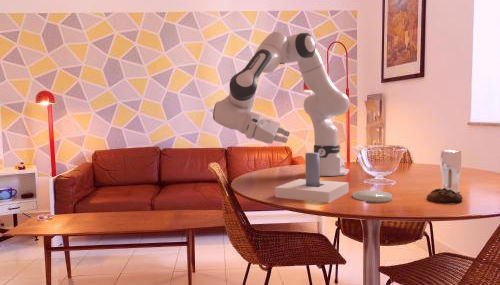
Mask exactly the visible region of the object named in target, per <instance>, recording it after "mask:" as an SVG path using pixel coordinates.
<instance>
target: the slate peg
mask: <svg viewBox="0 0 500 285" xmlns="http://www.w3.org/2000/svg"><path fill="white" fill-rule="evenodd" d="M320 177H321V176H320V156H319V153H314V152H306V153H305V179H306V186H309V187H320Z"/></svg>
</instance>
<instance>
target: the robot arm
mask: <svg viewBox="0 0 500 285" xmlns="http://www.w3.org/2000/svg"><path fill="white" fill-rule="evenodd" d="M316 45H317V44H316V41H315V38H314V37H313V35H311V34H310V33H309V32H300V33H298V34H293V35H289V36H286V35H285V34H284V33H282V32H280V31H273V32H271V33H269V34H268V35H267V36H266V37H265V38H264V39H263V40H262V41H261V43H260V45H259V46H258V47H257V49H256V51H255V53H254V55H253V56H252V57H251V59H250V60H249V61H248V62H247V64H246V65H245V67H244V68H243V69H242V70H240V71H238V72H237V73H235V74H234V75H233V76H232V77H231V79H230V80H229V94H228V95H227V96H226V97H225V98H224V99H221V100H219V101H217V102H216V103H215V104H214V108H213V112H212V115H213V116H212V118H213V121H214V122H215V123H216V124H218V125H220V126H222V127H225V128H227V129H230V130H236V131H238V132H239V133H241V134H243V135H245V138H247V139H250V140H252V139H253V140H256V141H259V142H262V143H265V144H273V143H274V141H275V142H277V143H278V142H281V143H284V144H286V143H287V142H288V137H289V135H290V131H288V130H286V129H284V128H283V127H281V123H279V122H277V121H274V120H272V119H267V118H266V117H263V118H262V116H263V115H262V114H259V113H257V112H253V111H251V110H252V109H253V106H254V101H255V97H256V91H257V89H258V80H259V77H260V76H261V75H262V73H264V74H265V73H266V74H270V73H272V72H274V71H275V70H276V69H277V68H278V67H279V65H285V64H287V63H288V64H289V63H295V62H297V66H298V68H299V71H300V74H301V76H302V79H303V81H304V84H305V86H306V88H307V89H308V90H310V91H312V92H313V93H314V94H312V95H309V96H307V97H305V99H304V101H303V109H304V111H305V113H306V114H307V115H308V116H309V118H310V120H311V123H312V126H313V131H314V145H313V153H319V156H320V177H334V176H335V177H336V176H346V175H347V174H348V173H349V172H350V169H349V168H345V159H344V158H343V156H342V155H341V153H340V152H341V151H340V149H341V144H339V129H338V127H337V126H336V125H335V124H334V123H333V121H332V119H331V117H339V116H341V115H342V116H343V115H344V114H346V113H347V112H348V111H349V110H350V106H351V105H350V104H351V103H350V102H351V101H350V97H349V96H348V95H347V94H345V93H344V92H342V91H341V90H339V88H337V87H336V85H335V84H334V83H333V82H332V80H331V78H330V77H329V74H328V72H327V69H326V66H325V64H324V61H323V59H322V57H321V55H320V53H319V51H318V49H317V48H316ZM279 134H281V135H279ZM282 135H283V136H282Z"/></svg>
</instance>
